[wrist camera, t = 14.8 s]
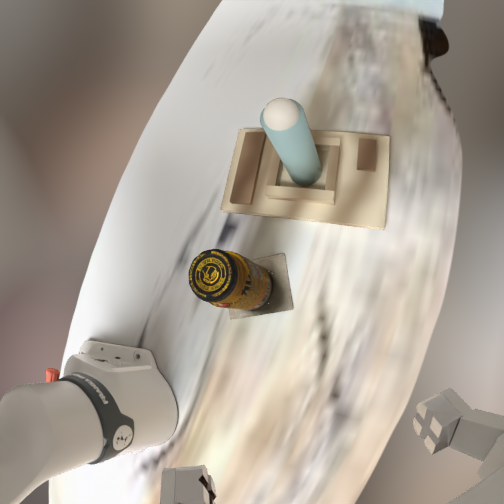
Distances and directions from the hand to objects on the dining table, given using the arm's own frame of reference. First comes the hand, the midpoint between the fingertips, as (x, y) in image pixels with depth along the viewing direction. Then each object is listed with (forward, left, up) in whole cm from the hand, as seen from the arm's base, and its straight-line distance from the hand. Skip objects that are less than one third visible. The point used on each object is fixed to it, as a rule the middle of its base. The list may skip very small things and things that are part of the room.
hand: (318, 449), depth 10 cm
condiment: (-13, +6, -29) cm, 32 cm away
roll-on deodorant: (-9, +22, -27) cm, 36 cm away
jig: (-9, +22, -28) cm, 37 cm away
